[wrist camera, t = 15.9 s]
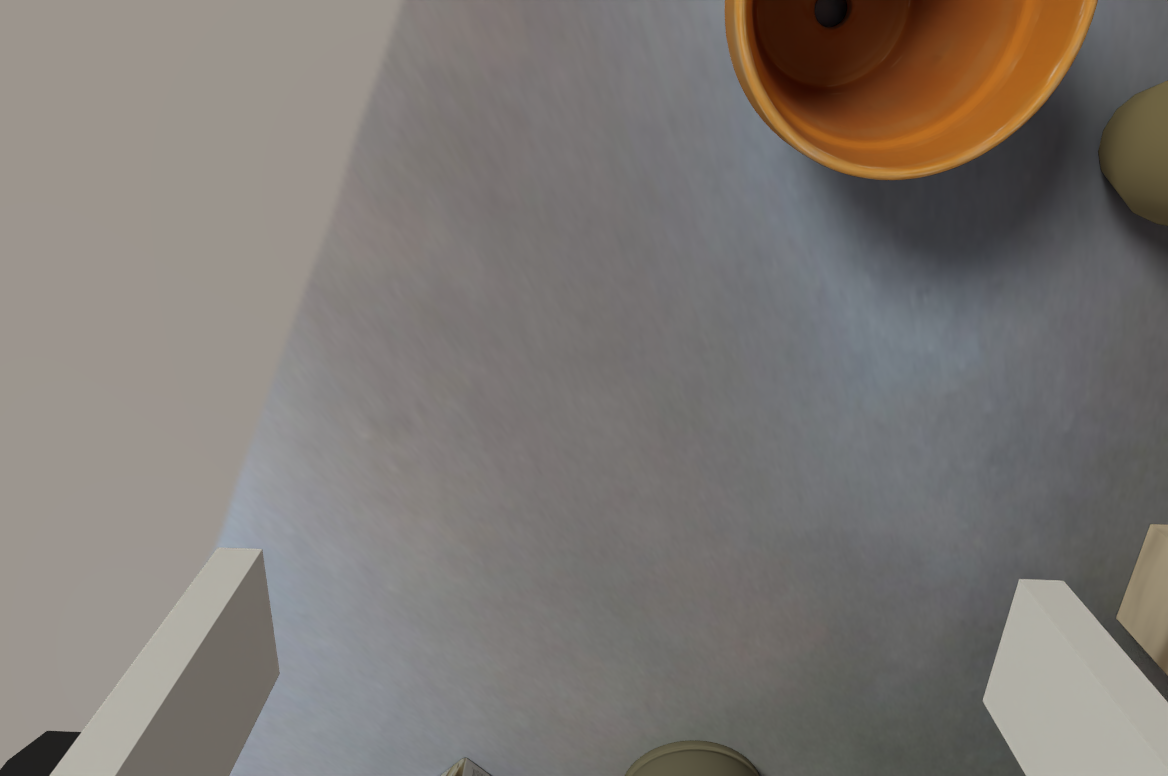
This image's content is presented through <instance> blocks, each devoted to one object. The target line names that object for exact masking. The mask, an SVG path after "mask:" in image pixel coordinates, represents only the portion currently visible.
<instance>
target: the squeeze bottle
mask: <svg viewBox="0 0 1168 776" xmlns="http://www.w3.org/2000/svg"><path fill="white" fill-rule="evenodd" d="M1098 153H1099V159H1100V165H1101V171H1102V172H1103V173H1104V175H1105V176H1106V177H1107V179H1108V180H1109V182H1110V183H1111V184H1112V186H1113V187H1114V188H1115V190H1116V191H1117V192H1118V193H1119V195H1120V196H1121V197H1122V199H1123V200H1124V201H1125V203H1126V204H1127V205H1128V207H1129V208H1130V209H1131V211H1132V212H1133V213H1135V214H1137V215H1139V216H1141V217H1143V218H1145V219H1148V220H1150V221H1152V222H1154V223H1156V224H1160V225H1166V226H1168V81H1165V82H1163V83H1161V84H1158V85H1156V86H1154V87H1152V88H1149V89H1147V90H1145V91H1142V92H1140V93H1138V94H1135V95H1134V96H1133V97H1132V98H1130V99H1129V100H1128V101H1127V102H1126V103H1124V104H1123V105H1122V106H1121V107H1120V108H1118V109H1117V110H1116V111H1115V113H1114V115H1113V116H1112V118H1111V119H1110V121H1109V122H1108V124H1107V125H1106V127H1105V129H1104V130H1103V134H1102V138H1101V142H1100V146H1099V151H1098Z"/></svg>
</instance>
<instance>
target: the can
mask: <svg viewBox="0 0 1168 776" xmlns="http://www.w3.org/2000/svg"><path fill="white" fill-rule="evenodd" d="M625 776H759V774H758V772H757V770H756V769H755V767H754V766H753V765H752V763H751V762H750V761H749V760H748V759H747V758H745V757H744V756H743V755H742V754H740V753H739V752H737V751H735V750H733V749H731V748H729V747H727V746H724V745H721V744H717V743H713V742H707V741H680V742H674V743H670V744H666V745H663V746H660V747H658V748H655V749H653V750H651V751H649V752H648V753H646V754H644V755H643V756H642V757H640V758H639V759H638V760H637V761H635V762H634V764H633V765H632V766H631V767H630V768H629V769H628V771H627V772H626V774H625Z"/></svg>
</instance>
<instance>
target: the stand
mask: <svg viewBox="0 0 1168 776" xmlns="http://www.w3.org/2000/svg"><path fill="white" fill-rule="evenodd" d="M1116 619H1117V620H1118V621H1119V622H1120V623H1121V624H1122V625H1123V626H1124V627H1125V629H1126V630H1127V631H1128V632H1129V633H1130V634H1131V635H1132V636H1133V638H1134V639H1135V640H1136V641H1137V642H1138V643H1139V644H1140V645H1141V646H1142V648H1143V649H1144V650H1145V651H1146V652H1147V653H1148V654H1149V655H1150V656H1151V658H1152V659H1153V660H1154V661H1155V662H1156V663H1157V664H1158V665H1159V667H1160V668H1161V669H1162V670H1163V671H1164V672H1165V673H1166V674H1167V675H1168V525H1161V524H1150V527H1149V530H1148V532H1147V535H1146V538H1145V541H1144V543H1143V546H1142V549H1141V551H1140V554H1139V557H1138V560H1137V562H1136V565H1135V568H1134V571H1133V573H1132V576H1131V579H1130V581H1129V584H1128V587H1127V590H1126V592H1125V595H1124V598H1123V601H1122V603H1121V606H1120V609H1119V611H1118V614H1117V617H1116Z"/></svg>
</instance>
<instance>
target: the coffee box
mask: <svg viewBox="0 0 1168 776" xmlns="http://www.w3.org/2000/svg"><path fill="white" fill-rule="evenodd" d="M440 776H490V775H489V774H488V773H486V772H485V771H484V770H482V769H481V768H480V767H478V766H477V765H475V764H474V763H473V762H471V761H470V760H469V759H467V758H463V759H461V760H460V761H459V762H457V763H456V764H455V765H453V766H452V767H451V768H450V769H448V770H447V771H446V772H444V773H443V774H442V775H440Z"/></svg>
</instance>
